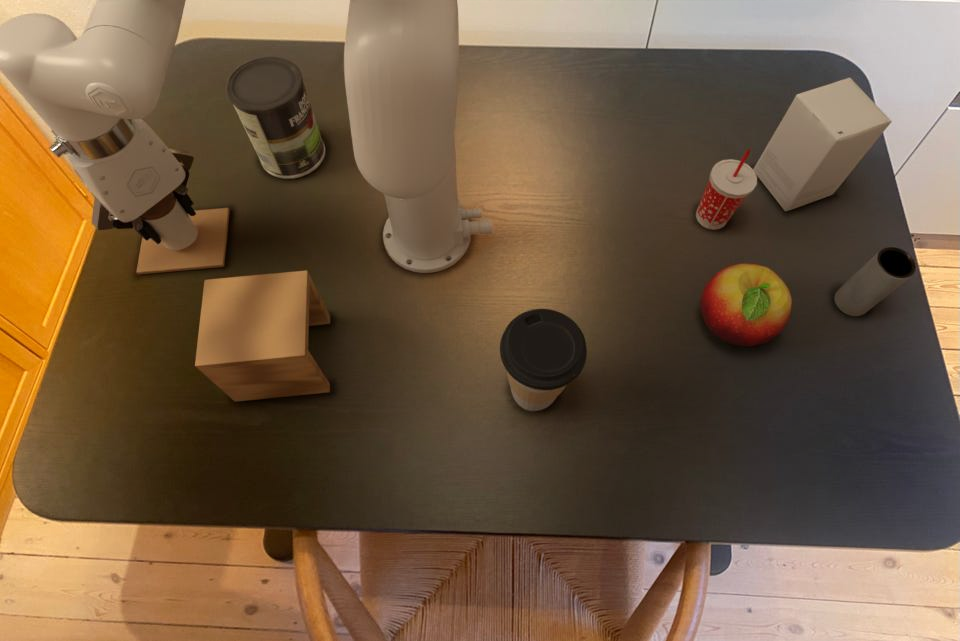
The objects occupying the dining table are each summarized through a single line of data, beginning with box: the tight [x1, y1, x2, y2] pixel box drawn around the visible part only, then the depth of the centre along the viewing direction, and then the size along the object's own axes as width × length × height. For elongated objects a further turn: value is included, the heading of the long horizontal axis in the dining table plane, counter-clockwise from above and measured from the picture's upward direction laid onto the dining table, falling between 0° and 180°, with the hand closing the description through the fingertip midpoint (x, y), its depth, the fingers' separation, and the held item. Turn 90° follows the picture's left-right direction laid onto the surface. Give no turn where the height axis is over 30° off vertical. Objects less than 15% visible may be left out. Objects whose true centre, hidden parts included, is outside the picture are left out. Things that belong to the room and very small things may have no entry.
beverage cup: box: [695, 148, 758, 231], centre depth 83 cm, size 6×6×14 cm
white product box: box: [752, 77, 893, 212], centre depth 85 cm, size 9×9×15 cm
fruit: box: [699, 263, 793, 347], centre depth 77 cm, size 11×11×10 cm
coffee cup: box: [499, 308, 588, 412], centre depth 70 cm, size 9×9×15 cm
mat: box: [135, 207, 231, 275], centre depth 87 cm, size 12×10×1 cm
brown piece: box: [194, 270, 331, 403], centre depth 74 cm, size 12×11×12 cm
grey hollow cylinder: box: [833, 246, 917, 317], centre depth 78 cm, size 4×4×10 cm
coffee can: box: [225, 56, 326, 180], centre depth 89 cm, size 10×10×14 cm
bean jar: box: [140, 191, 198, 250], centre depth 83 cm, size 5×5×8 cm
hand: (170, 223), depth 84 cm, fingers closed on bean jar, 5 cm apart
